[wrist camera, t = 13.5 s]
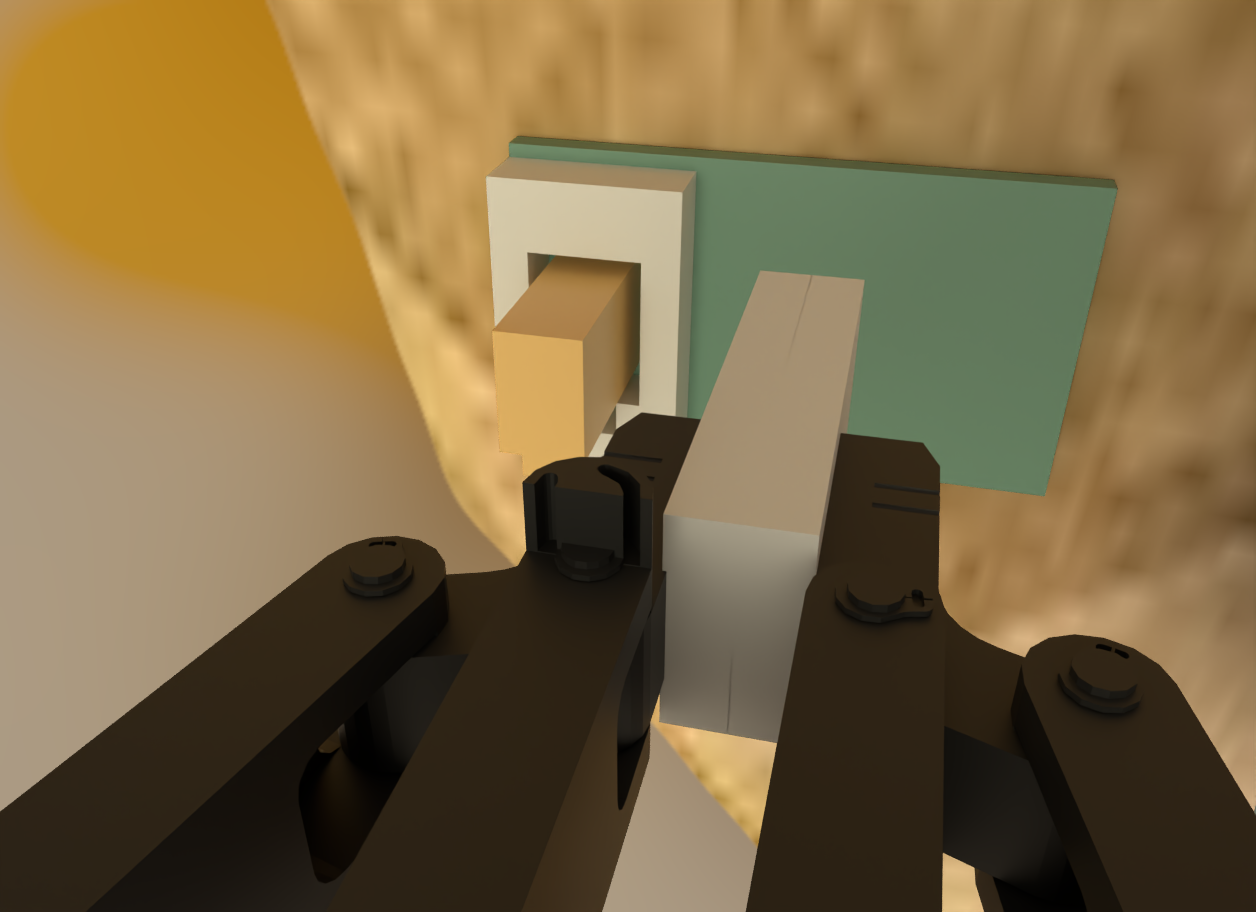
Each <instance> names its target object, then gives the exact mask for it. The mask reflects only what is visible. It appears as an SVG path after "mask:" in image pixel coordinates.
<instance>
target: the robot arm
mask: <svg viewBox="0 0 1256 912" xmlns="http://www.w3.org/2000/svg"><path fill="white" fill-rule="evenodd" d="M864 281H865V280H861V279H850V278H839V277H828V276H817V275H805V274H794V273H783V272H772V271H761V270H760V273H759V275H758V278H757V280H756V283H755V285H754V288H753V290H752V293H751V295H750V298H749V301H748V303H747V306H746V308H745V311H744V313H743V316H742V318H741V321H740V323H739V326H738V328H737V331H736V333H735V336H734V338H733V341H732V343H731V346H730V348H729V351H728V353H727V356H726V358H725V361H724V363H723V366H722V368H721V371H720V373H719V376H718V378H717V381H716V383H715V386H714V388H713V391H712V393H711V396H710V398H709V401H708V403H707V406H706V408H705V411H704V413H703V416H702V418H701V419H694V418H686V417H678V416H669V415H661V414H652V413H644V412H641V413H640V414H638V415H637V416H635V417H634V418H632V419H631V420H629V421H628V422H626V423H625V424H623V425H622V426H620V427H619V428H617V429H616V430H615V432H614V434H613V436H612V438H611V439H610V441H609V443H608V445H607V447H606V449H605V451H604V456H602V457H575V458H570V459H564V460H559V461H554V462H552V463H550V464H548V465H545V466H543V467H541V468H539V469H536V470H535V471H534V472H533V473H532V474H531V475H530V476H529V477H528V478H527V479H525V480H524V481H523V482H522V483H523V500H524V517H525V535H526V552H525V554H524V556H523V557H522V559H521V561H520V563H519V565H518V566H516V567H512V568H509V569H505V570H498V571H491V572H482V573H465V574H449V575H446V568H445V562H444V560H443V559H442V557H441V556H440V554H439V553H438V551H437V550H436V549H435V548H433V547H431V546H429V545H427V544H426V543H423V542H422V541H420V540H416V539H410V538H405V537H399V536H390V537H374V538H369V539H365V540H362V541H358V542H355V543H351V544H348V545H346V546H344V547H342V548H341V549H339V550H337V551H335V552H334V553H332V554H330V555H328V556H327V557H326V558H324V559H323V560H322V561H320V562H319V563H318V564H317V565H315V566H314V567H313V568H311V569H310V570H309V571H308V572H306V573H305V574H304V575H302V576H301V577H300V578H299V579H297V580H296V581H295V582H293V583H292V584H291V585H290V586H288V587H287V588H286V589H285V590H283V591H282V592H281V593H279V594H278V595H277V596H276V597H274V598H273V599H272V600H270V602H268V603H267V604H265V605H264V606H263V607H262V608H260V609H259V610H258V611H256V612H255V613H254V614H253V615H251V616H250V617H249V618H247V619H246V620H245V621H244V622H242V623H241V624H240V625H239V626H237V627H236V628H235V629H234V630H232V631H231V632H229V633H228V634H227V635H226V636H224V637H223V638H222V639H221V640H219V641H218V642H217V643H215V644H214V645H213V646H212V647H210V648H209V649H208V650H206V651H205V652H204V653H203V654H202V655H200V656H199V657H197V658H196V659H195V660H194V661H193V662H191V663H190V664H189V665H188V666H186V667H185V668H184V669H182V670H181V671H180V672H178V673H177V674H176V675H174V676H173V677H172V678H171V679H169V680H168V681H167V682H165V683H164V684H163V685H162V686H160V687H159V688H158V689H157V690H155V691H154V692H153V693H151V694H150V695H149V696H148V697H146V698H145V699H144V700H143V701H141V702H140V703H139V704H137V705H136V706H135V707H134V708H132V709H131V710H130V711H129V712H127V713H126V714H125V715H123V716H122V717H121V718H119V719H118V720H117V721H116V722H115V723H113V724H112V725H111V726H109V727H108V728H107V729H106V730H104V731H103V732H102V733H100V734H99V735H98V736H96V737H95V738H94V739H93V740H91V741H90V742H89V743H87V744H86V745H85V746H84V747H82V748H81V749H80V750H78V751H77V752H76V753H75V754H73V755H72V756H71V757H69V758H68V759H67V760H66V761H64V762H63V763H62V764H61V765H59V766H58V767H57V768H55V769H54V770H53V771H52V772H50V773H49V774H48V775H47V776H45V777H44V778H43V779H42V780H40V781H39V782H38V783H36V784H35V785H34V786H32V787H31V788H30V789H29V790H27V791H26V792H25V793H23V794H22V795H21V796H20V797H18V798H17V799H16V800H14V801H13V802H12V803H11V804H9V805H8V806H7V807H5V808H4V809H3V810H2V811H0V912H602V910H603V907H604V904H605V900H606V897H607V894H608V891H609V887H610V884H611V881H612V878H613V875H614V871H615V868H616V865H617V862H618V858H619V855H620V852H621V849H622V845H623V842H624V839H625V836H626V832H627V829H628V826H629V823H630V819H631V816H632V813H633V810H634V806H635V803H636V800H637V797H638V793H639V790H640V787H641V784H642V780H643V777H644V774H645V771H646V767H647V764H648V761H649V754H650V721H651V718H652V715H653V712H654V709H655V706H656V703H657V700H658V696H659V693H660V718H659V722H662V723H668V724H673V725H679V726H684V727H690V728H696V729H701V730H707V731H713V732H718V733H724V734H729V735H735V736H741V737H746V738H752V739H757V740H763V741H769V742H774V743H777V747H776V752H775V758H774V763H773V768H772V774H771V779H770V785H769V790H768V795H767V801H766V806H765V811H764V817H763V822H762V827H761V833H760V838H759V843H758V849H757V855H756V860H755V865H754V870H753V876H752V881H751V887H750V892H749V897H748V903H747V908H746V912H942V869H943V853H945V854H947V855H949V856H951V857H953V858H955V859H958V860H960V861H962V862H964V863H966V864H968V865H970V866H972V867H974V868H975V881H976V887H977V890H978V893H979V896H980V900H981V903H982V906H983V909H984V912H1256V807H1255V810H1254V811H1253V809H1252V808H1251V806H1250V805H1249V803H1248V801H1247V800H1246V798H1245V796H1244V795H1243V793H1242V791H1241V790H1240V788H1239V786H1238V785H1237V783H1236V781H1235V780H1234V778H1233V776H1232V775H1231V773H1230V771H1229V770H1228V768H1227V767H1226V765H1225V763H1224V762H1223V760H1222V758H1221V757H1220V755H1219V753H1218V752H1217V750H1216V748H1215V747H1214V745H1213V743H1212V742H1211V740H1210V738H1209V737H1208V735H1207V733H1206V732H1205V730H1204V729H1203V727H1202V725H1201V724H1200V722H1199V720H1198V719H1197V717H1196V715H1195V714H1194V712H1193V710H1192V709H1191V707H1190V705H1189V704H1188V702H1187V700H1186V699H1185V697H1184V695H1183V694H1182V692H1181V691H1180V689H1179V687H1178V686H1177V684H1176V683H1175V682H1174V681H1173V680H1172V678H1171V677H1170V676H1169V675H1168V674H1167V673H1166V672H1165V671H1164V669H1163V668H1162V667H1161V666H1160V665H1159V664H1157V663H1156V662H1154V661H1153V660H1151V659H1150V658H1148V657H1146V656H1145V655H1143V654H1142V653H1140V652H1138V651H1137V650H1135V649H1134V648H1131V647H1128V646H1125V645H1122V644H1120V643H1117V642H1114V641H1111V640H1108V639H1105V638H1100V637H1092V636H1084V635H1076V634H1074V635H1067V636H1059V637H1052V638H1048V639H1046V640H1044V641H1042V642H1040V643H1039V644H1037V645H1035V646H1033V647H1031V648H1030V649H1029V651H1028V653H1027V655H1026V657H1022V656H1019V655H1017V654H1014V653H1011V652H1008V651H1006V650H1003V649H1000V648H998V647H996V646H994V645H991V644H989V643H987V642H985V641H983V640H980V639H978V638H977V637H975V636H974V635H972V634H971V633H969V632H968V631H966V630H965V629H963V628H962V627H961V626H960V625H959V624H958V623H957V622H956V621H955V620H954V619H953V618H952V617H951V616H950V615H949V614H948V613H947V611H946V609H945V608H944V606H943V602H942V599H941V596H940V594H939V589H938V580H939V511H940V496H939V493H940V465H939V464H938V463H937V461H936V460H935V458H934V457H933V456H932V454H931V453H930V452H929V450H928V449H927V447H926V446H925V445H924V443H922V442H914V441H905V440H897V439H888V438H880V437H871V436H863V435H854V434H847V428H848V420H849V411H850V402H851V394H852V385H853V376H854V368H855V359H856V350H857V342H858V333H859V325H860V316H861V307H862V299H863V290H864Z"/></svg>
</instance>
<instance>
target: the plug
mask: <svg viewBox="0 0 1256 912" xmlns="http://www.w3.org/2000/svg"><path fill="white" fill-rule="evenodd" d="M640 309H641V263H634V262H623V261H613V260H602V259H592V258H581V257H571V256H561V255H556V256H555V257H554V258H553V259H552V261H551V262H550V263H549V264H548V265H547V267H546V268H545V269H544V270H543V271H542V272H541V274H540V275H539V276H538V277H537V278H536V280H535V281H534V282H533V283H532V284H531V285H530V287H529V288H528V289H527V290H526V291H525V293H524V294H523V295H522V296H521V297H520V298H519V300H518V301H517V302H516V303H515V304H514V306H513V307H512V308H511V309H510V310H509V311H508V313H507V314H506V315H505V316H504V317H503V319H502V320H501V321H500V322H499V323H498V325H497V326H496V327H495V328H494V329H493V330H492V337H493V353H494V369H495V385H496V401H497V417H498V433H499V449H500V452H504V453H511V454H519V455H522V463H523V475H527V476H530V475H531V474H532V473H533V472H534V471H535V470H536V469H539V468H541V467H543V466H545V465H548V464H550V463H552V462H554V461H559V460H564V459H570V458H575V457H588V456H589V454H590V453H591V451H592V449H593V447H594V445H595V443H596V441H597V440H598V438H599V436H600V434H601V432H602V430H603V428H604V427H605V425H606V423H607V421H608V419H609V417H610V416H611V414H612V412H613V410H614V408H615V406H616V404H617V403H618V401H619V399H620V397H621V395H622V393H623V391H624V390H625V388H626V386H627V384H628V382H629V380H630V379H631V377H632V375H633V373H634V371H635V369H636V367H637V366H638V364H639V362H640Z"/></svg>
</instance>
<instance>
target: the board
mask: <svg viewBox="0 0 1256 912" xmlns="http://www.w3.org/2000/svg"><path fill="white" fill-rule="evenodd" d="M486 186H487V202H488V219H489V235H490V251H491V268H492V284H493V300H494V316H495V327H496V326H497V325H498V323H499V322H500V321H501V320H502V319H503V317H504V316H505V315H506V314H507V313H508V311H509V310H510V309H511V308H512V307H513V306H514V304H515V303H516V302H517V301H518V300H519V298H520V297H521V296H522V295H523V294H524V293H525V291H526V290H527V289H528V288H529V287H530V285H531V284H532V283H533V282H534V281H535V280H536V278H537V277H538V276H539V275H540V274H541V272H542V271H543V270H544V269H545V268H546V267H547V265H548V264H549V263H550V262H551V261H552V259H553V258H554V257H555V256H556V255H561V256H571V257H581V258H592V259H602V260H613V261H623V262H634V263H641V309H640V362H639V364H638V366H637V367H636V369H635V371H634V373H633V375H632V377H631V379H630V380H629V382H628V384H627V386H626V388H625V390H624V391H623V393H622V395H621V397H620V399H619V401H618V403H617V404H616V406H615V408H614V410H613V412H612V414H611V416H610V417H609V419H608V421H607V423H606V425H605V427H604V428H603V430H602V432H601V434H600V436H599V438H598V440H597V441H596V443H595V445H594V447H593V449H592V451H591V453H590V454H589V456H588V457H602V456H604V451H605V449H606V447H607V445H608V443H609V441H610V439H611V438H612V436H613V434H614V432H615V430H616V429H617V428H619V427H620V426H622V425H623V424H625V423H626V422H628V421H629V420H631V419H632V418H634V417H635V416H637V415H638V414H640V413H641V412H644V413H652V414H661V415H669V416H678V417H686V418H694V419H701V418H702V416H703V413H704V411H705V408H706V406H707V403H708V401H709V398H710V396H711V393H712V391H713V388H714V386H715V383H716V381H717V378H718V376H719V373H720V371H721V368H722V366H723V363H724V361H725V358H726V356H727V353H728V351H729V348H730V346H731V343H732V341H733V338H734V336H735V333H736V331H737V328H738V326H739V323H740V321H741V318H742V316H743V313H744V311H745V308H746V306H747V303H748V301H749V298H750V295H751V293H752V290H753V288H754V285H755V283H756V280H757V278H758V275H759V273H760V270H761V271H772V272H783V273H794V274H805V275H817V276H828V277H839V278H850V279H861V280H865V281H864V290H863V299H862V307H861V316H860V325H859V333H858V342H857V350H856V359H855V368H854V376H853V385H852V394H851V402H850V411H849V420H848V428H847V434H854V435H863V436H871V437H880V438H888V439H897V440H905V441H914V442H922V443H924V445H925V446H926V447H927V449H928V450H929V452H930V453H931V454H932V456H933V457H934V458H935V460H936V461H937V463H938V464H939V465H940V483H947V484H954V485H962V486H970V487H977V488H985V489H993V490H1001V491H1008V492H1016V493H1024V494H1031V495H1039V496H1045V493H1046V489H1047V484H1048V480H1049V476H1050V472H1051V468H1052V463H1053V459H1054V455H1055V451H1056V447H1057V442H1058V438H1059V434H1060V430H1061V425H1062V421H1063V417H1064V413H1065V409H1066V404H1067V400H1068V396H1069V392H1070V388H1071V383H1072V379H1073V375H1074V371H1075V366H1076V362H1077V358H1078V354H1079V350H1080V345H1081V341H1082V337H1083V333H1084V329H1085V324H1086V320H1087V316H1088V312H1089V307H1090V303H1091V299H1092V295H1093V291H1094V286H1095V282H1096V278H1097V274H1098V270H1099V265H1100V261H1101V257H1102V253H1103V248H1104V244H1105V240H1106V236H1107V232H1108V227H1109V223H1110V219H1111V215H1112V210H1113V206H1114V202H1115V198H1116V194H1117V189H1118V188H1117V186H1116V184H1115V181H1114V180H1109V179H1095V178H1082V177H1068V176H1054V175H1041V174H1027V173H1013V172H1000V171H986V170H973V169H959V168H945V167H932V166H918V165H904V164H891V163H877V162H863V161H850V160H836V159H823V158H809V157H795V156H782V155H768V154H754V153H741V152H727V151H713V150H700V149H686V148H673V147H659V146H645V145H632V144H618V143H604V142H591V141H577V140H563V139H550V138H536V137H523V136H517V137H516V138H515V139H513V140H512V141H511V142H510V143H509V158H507V159H506V160H505V161H504V162H503V163H501V164H500V165H499V166H498V167H497V168H495V169H494V170H493V171H492V172H491V173H489V174H488V175H487V176H486Z"/></svg>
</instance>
